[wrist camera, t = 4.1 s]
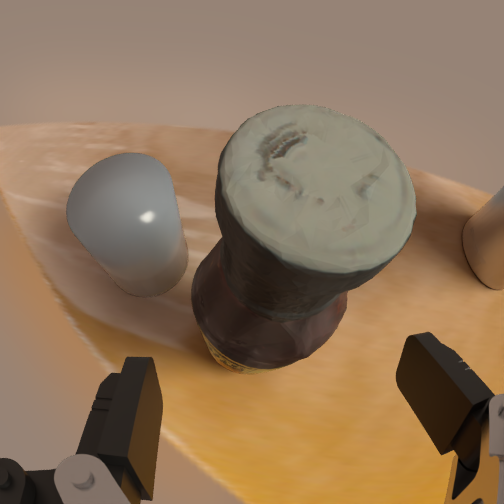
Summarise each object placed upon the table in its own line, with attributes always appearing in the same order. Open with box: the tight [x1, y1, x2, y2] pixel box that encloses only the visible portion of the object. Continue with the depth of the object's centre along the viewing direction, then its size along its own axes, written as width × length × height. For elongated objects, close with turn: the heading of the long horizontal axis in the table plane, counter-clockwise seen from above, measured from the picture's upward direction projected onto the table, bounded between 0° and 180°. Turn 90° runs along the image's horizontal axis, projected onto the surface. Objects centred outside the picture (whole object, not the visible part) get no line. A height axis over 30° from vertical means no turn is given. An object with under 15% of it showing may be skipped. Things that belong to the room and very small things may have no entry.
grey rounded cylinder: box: [66, 153, 188, 297], centre depth 22 cm, size 7×7×9 cm
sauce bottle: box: [191, 105, 417, 375], centre depth 15 cm, size 7×6×20 cm
